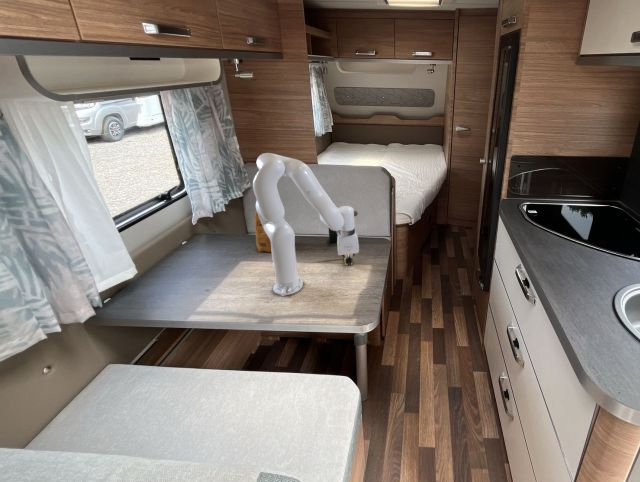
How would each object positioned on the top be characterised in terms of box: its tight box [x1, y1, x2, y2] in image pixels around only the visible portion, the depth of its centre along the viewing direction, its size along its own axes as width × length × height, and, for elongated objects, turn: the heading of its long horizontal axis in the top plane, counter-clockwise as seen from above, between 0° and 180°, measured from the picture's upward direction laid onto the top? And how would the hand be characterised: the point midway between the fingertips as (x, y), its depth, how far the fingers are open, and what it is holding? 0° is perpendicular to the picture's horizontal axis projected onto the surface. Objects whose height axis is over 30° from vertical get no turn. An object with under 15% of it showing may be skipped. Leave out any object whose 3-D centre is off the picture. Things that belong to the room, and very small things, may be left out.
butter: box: [343, 254, 353, 266], centre depth 172 cm, size 7×4×4 cm, turn 15°
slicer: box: [327, 226, 338, 245], centre depth 189 cm, size 5×6×13 cm
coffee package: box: [254, 210, 272, 253], centre depth 180 cm, size 10×12×22 cm
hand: (349, 264), depth 167 cm, fingers closed
